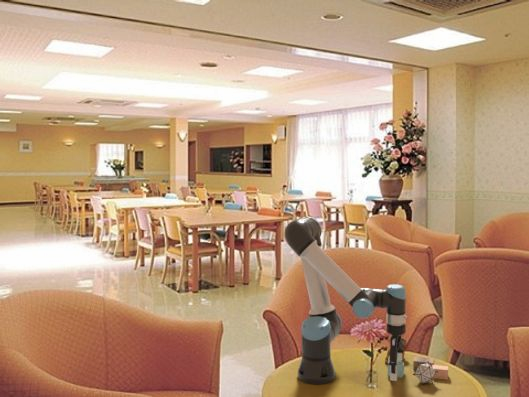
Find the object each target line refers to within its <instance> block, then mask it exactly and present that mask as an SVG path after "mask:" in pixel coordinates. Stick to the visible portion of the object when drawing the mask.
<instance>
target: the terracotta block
mask: <svg viewBox="0 0 529 397" xmlns="http://www.w3.org/2000/svg"><path fill="white" fill-rule="evenodd" d="M432 368H433V369H434V370H435V371H438V372H436V374H435V376H434V378H433V379H441V380H449V366H447V365H437V364H434V365H432Z"/></svg>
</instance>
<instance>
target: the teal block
mask: <svg viewBox="0 0 529 397" xmlns="http://www.w3.org/2000/svg"><path fill="white" fill-rule="evenodd" d="M388 363H389V361H388ZM404 375H405V362H404V361H402V362H399V361H397V378H403V377H404ZM387 376H389V377H390V365H387Z"/></svg>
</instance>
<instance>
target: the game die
mask: <svg viewBox="0 0 529 397" xmlns="http://www.w3.org/2000/svg"><path fill="white" fill-rule="evenodd" d="M417 364H418V367H417V370H415V373H413V374H412V375H413V376H415V377H416V378H417V379H418V380H419V381H420V382H421V386H423V385H424V384H427V383H431V384H434V379H435V378H434V376H435V374H436V372H438V371H435V370H434V369H433V368H432V367H431V366H430V364H429V361H428V363H425V364H419V363H417Z"/></svg>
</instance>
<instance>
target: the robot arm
mask: <svg viewBox="0 0 529 397" xmlns="http://www.w3.org/2000/svg"><path fill="white" fill-rule="evenodd" d="M322 230H323V228H322V225H321V223H320V222H319V221H318V220H317V219H316V218H314V217H312V216H302V217H299V218H297V219H294V220H292V221H290V222H289V223H288V224H287V225H286V227H285V229H284V234H283V235H284V239H285V241H286V244H287V245H288V246H289V248H291V249H292V251H293V252H294V253H295V254H296V255H297V256H298V257H299V258H300V262H301V266H302V271H303V274H304V275H303V276H304V281H305V285H306V289H307V293H308V300H309V302H310V307H311V308H310V309H309V311H308V314H309V315H308V316H309V317H308V318H305V319H304V320H303V322H302V324H301V330H300V332H301V359H300V364H299V366H298V368H297V369H298V370H297V378H298V379H299V380H300V381H301V382H303V383H306V384H309V385H311V384H312V385H325V384H329V383H331V382H334V380H335V379H336V370H335V367H334V364H333V362H332V359H331V355H332V354H331V352H332V351H331V343H332V342H333V341H334V340H335V338H336V337H338V335H340V332H341V329H342V325H343V324H342V322H343V321H342V319H341V318H342V317H341V316H340V315H339V314H338V313H337V310H336V306H334V305H333V304H332V303H331V299H330V294H329V289H328V285H327V284H329V285H330V286H331V287H332V288H333V289H334V290H335V291H336V292H337V293H338V294H339V295H340V297H341V298H343V299H344V300H345V301H346V302H347V303H348V305H350V306H351V308H352V311H353V314H354V315H355V316H356V317H357V318H359V319H366V318H369V317H371V315H372V314H373V313H374V311H375V310H376V309H377V308H378V309H379V308H380V309H386V316H385V318H386V332H387V334H390V335H391V337H390V340H389V342H390V345H389V346H390V347H389V348H390V356H389V358H388V362H389V363H388V365H390V376H389V381H392V382H398V377H397V361H399V362H403V360H402V353H403V352H404V350H402V349H403V347H402V336H403V335H404V334H406V331H407V330H406V327H407V326H406V319H408V316H407V315H406V310H407V308H406V306H407V305H406V304H407V303H406V302H407V301H406V299H407V297H406V288H405V286H403V285H401V284H388V285H387V286H386V288H385V289H381V288H370V287H360V286H359V285H358V284H357V283H356V282H355V281H354V280H353V279H352V278H351V277H350V276H349V275H348V274H347V273H346V272H345V271H344V270H343V269H342V268H341V267H340V266H339V265H338V264H337V263H336V262H335V261H334V260H333V259H332V257H330V256H329V254H327V253H326V252H325V251H324V250H323V249H322V247H323V245H322V240H321V236H322V233H323V232H322ZM401 352H402V353H401ZM404 353H405V352H404ZM388 365H387V366H388Z"/></svg>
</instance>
